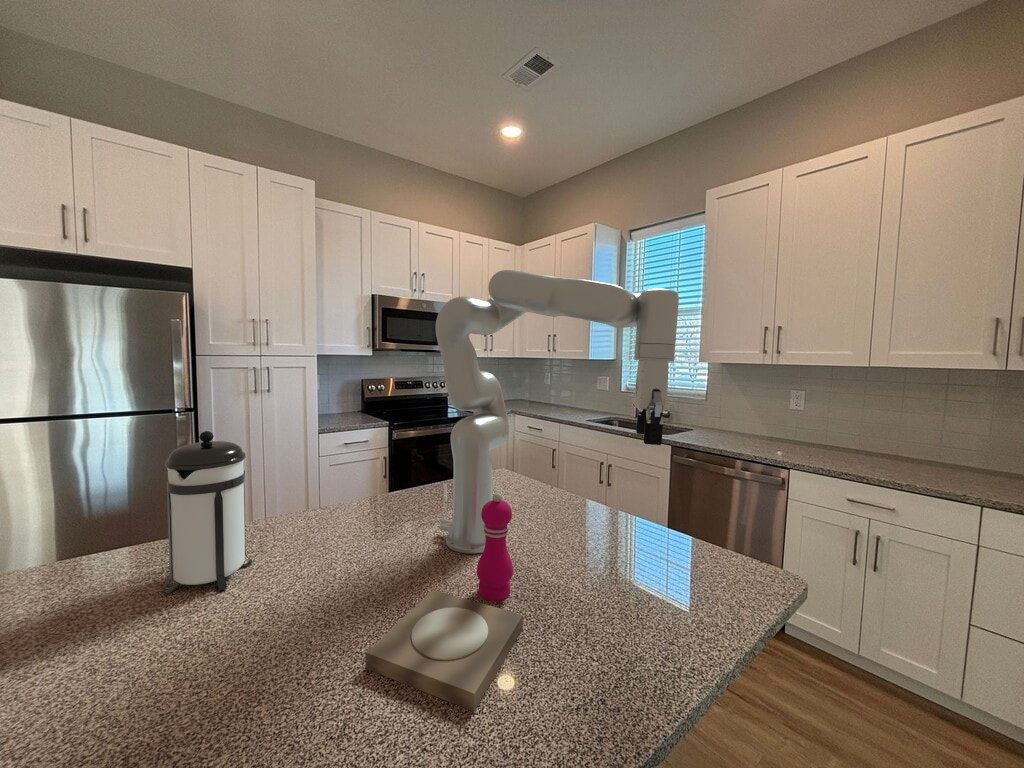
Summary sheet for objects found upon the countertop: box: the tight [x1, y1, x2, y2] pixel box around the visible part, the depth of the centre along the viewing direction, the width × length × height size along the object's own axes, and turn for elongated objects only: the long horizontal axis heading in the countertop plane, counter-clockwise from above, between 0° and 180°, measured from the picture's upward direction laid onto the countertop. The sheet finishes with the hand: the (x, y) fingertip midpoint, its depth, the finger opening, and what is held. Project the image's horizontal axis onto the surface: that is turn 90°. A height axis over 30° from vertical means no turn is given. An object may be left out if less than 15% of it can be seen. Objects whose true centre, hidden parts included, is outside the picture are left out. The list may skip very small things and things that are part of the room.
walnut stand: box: [365, 589, 524, 712], centre depth 66 cm, size 18×18×3 cm
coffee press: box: [161, 430, 253, 595], centre depth 84 cm, size 17×16×30 cm
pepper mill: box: [476, 492, 514, 602], centre depth 81 cm, size 7×7×20 cm
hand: (648, 439), depth 83 cm, fingers open, 9 cm apart
